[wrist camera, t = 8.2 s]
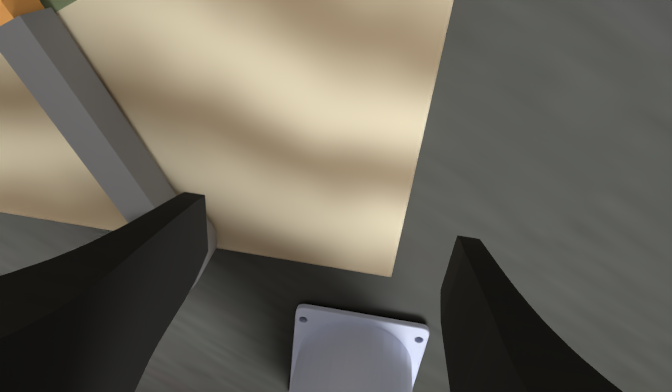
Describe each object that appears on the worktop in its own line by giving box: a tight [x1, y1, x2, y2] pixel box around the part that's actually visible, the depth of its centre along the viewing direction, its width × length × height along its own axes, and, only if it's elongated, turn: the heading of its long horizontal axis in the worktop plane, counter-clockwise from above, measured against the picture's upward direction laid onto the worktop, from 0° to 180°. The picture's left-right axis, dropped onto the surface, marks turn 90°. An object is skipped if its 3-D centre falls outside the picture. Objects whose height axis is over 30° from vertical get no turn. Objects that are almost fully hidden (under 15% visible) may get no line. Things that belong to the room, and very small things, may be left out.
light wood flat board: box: [0, 0, 453, 277], centre depth 21 cm, size 15×23×1 cm, turn 84°
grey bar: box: [0, 0, 218, 289], centre depth 20 cm, size 15×4×3 cm, turn 23°
